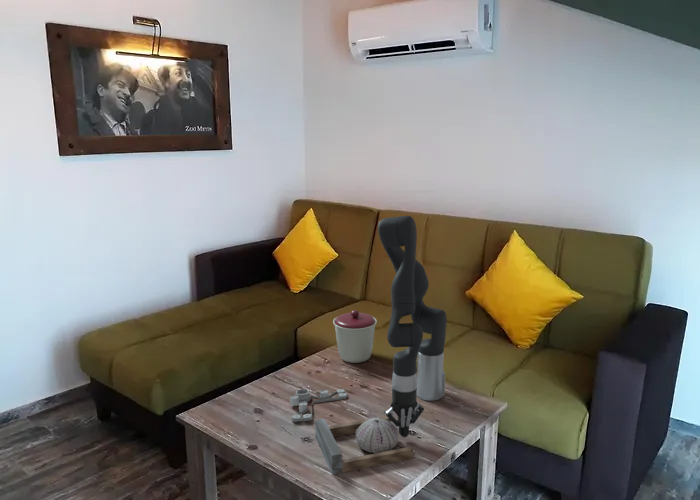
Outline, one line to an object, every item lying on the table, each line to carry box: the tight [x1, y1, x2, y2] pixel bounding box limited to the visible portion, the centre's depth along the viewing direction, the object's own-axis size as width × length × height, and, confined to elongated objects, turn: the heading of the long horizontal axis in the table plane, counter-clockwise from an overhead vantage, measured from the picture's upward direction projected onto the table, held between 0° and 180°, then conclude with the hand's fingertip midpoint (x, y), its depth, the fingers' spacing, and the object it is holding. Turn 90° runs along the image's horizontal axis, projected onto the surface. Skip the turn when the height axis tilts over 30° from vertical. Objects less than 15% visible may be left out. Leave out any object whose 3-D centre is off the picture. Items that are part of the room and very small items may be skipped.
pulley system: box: [289, 388, 348, 423], centre depth 202 cm, size 27×5×15 cm
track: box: [314, 415, 414, 475], centre depth 174 cm, size 25×20×6 cm
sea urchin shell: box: [355, 417, 399, 454], centre depth 176 cm, size 13×14×8 cm
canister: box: [332, 309, 378, 364], centre depth 236 cm, size 18×18×21 cm
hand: (403, 435), depth 178 cm, fingers closed
